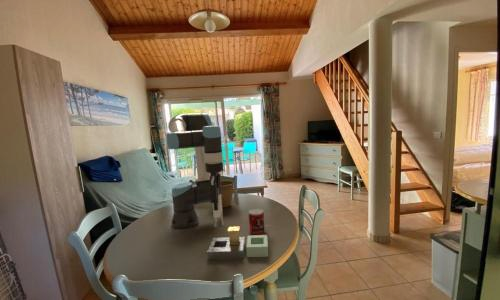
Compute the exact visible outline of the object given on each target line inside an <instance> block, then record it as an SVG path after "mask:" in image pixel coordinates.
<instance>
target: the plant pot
mask: <svg viewBox="0 0 500 300" xmlns="http://www.w3.org/2000/svg"><path fill="white" fill-rule="evenodd" d="M234 189H235V181H232V180H221V193H222V194H221V196H222V195H223V197H222V198H221V200H222V208H228V207H230V206H231V203H232V200H233V196H234Z"/></svg>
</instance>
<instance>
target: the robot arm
mask: <svg viewBox="0 0 500 300" xmlns="http://www.w3.org/2000/svg"><path fill="white" fill-rule="evenodd" d="M167 125H168V126H167V127H168V130H169V132H167V133H166V135H165V138H166V145H167V146H166V147H167V149H168V150H182V149H190V148H194V152H195V153H194V155H195V163H196V174H197V178H196V180H195V184H193V182H190V181H188V182H187V181H186V182H182V183H177V184H176V185H175V186H173V187H172V188H171V197H172V207H173V208H172V209H173V215H172V219H171V227H172V228H173V229H175V230H186V229H190V228H192V227H195V226H196V225H197V224H199V221H200V220H199V216H198V214H197V211H196V209H195V206H196V205H202V204H208V203H209V204H212V203H213V204H212V213H213V214H212V216H213V215H214V217H220V206H219V201H218V188H219V194H222V193H221V181H222V180H221V178H222V177H221V172H223V171H224V162H223V161H224V158H223V157H224V156H223V147H222V132H221V127H220V126H219V125H213V124H212V120H211V117H210V115H209V113H206V112H198V113H197V112H196V113H181V114H178V115H175V116H174V117H172V118H171V119H170V120H169V122H168V124H167ZM222 197H223V195H222V196H221V198H222ZM214 217H213V218H214Z"/></svg>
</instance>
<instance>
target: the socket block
mask: <svg viewBox="0 0 500 300" xmlns="http://www.w3.org/2000/svg"><path fill="white" fill-rule="evenodd" d="M239 240H240V246H230V239H229V236H228V237H212V239H211V242H210V245H209V247H208V248H207V249H208V250H207V251H206V253H207V254H206V255H207V260H210V261H211V260H214V261H215V260H241V259H244V257H245V256H244V255H245V249H246V237H245V236H239Z"/></svg>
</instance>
